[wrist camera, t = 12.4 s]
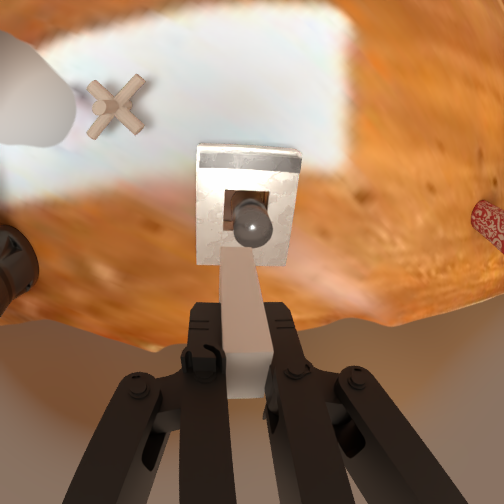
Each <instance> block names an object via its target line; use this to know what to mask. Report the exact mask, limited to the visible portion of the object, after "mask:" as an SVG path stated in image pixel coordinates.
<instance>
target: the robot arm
mask: <svg viewBox="0 0 504 504" xmlns="http://www.w3.org/2000/svg"><path fill="white" fill-rule="evenodd" d="M38 274H39V267H38V262H37V258H36V255H35V253H34V251H33V249H32V247H31V245H30V243H29V242H28V241H27V239H26V238H25V237H24V236H23V235H22V234H21V233H20V232H19V231H18V230H16V229H15V228H13V227H11V226H8V225H1V226H0V317H1V315H2V314H3V312H4V311H5V310H6V308H7V307H8V305H9V304H10V303H11V301H12V300H14V299H15V298H17V297H19V296H21V295H22V294H24V293H26V292H28V291H29V290H30V289H31V288H32V287H33V285H34V284H35V283H36V281H37V279H38ZM181 364H182V368H181V369H180V370H179V371H178V372H176V373H175V374H173V375H169V376H166V377H161V378H156V379H155V378H154V377H153V376H152V375H150V374H148V373H143V372H136V373H131V374H129V375H128V376H125V377H124V378H123V380H122V381H121V382H120V383H119V385H118V387H117V389H116V391H115V393H114V395H113V397H112V398H111V400H110V402H109V404H108V406H107V408H106V410H105V412H104V414H103V416H102V418H101V420H100V422H99V424H98V426H97V428H96V430H95V432H94V434H93V436H92V438H91V440H90V442H89V444H88V447H87V449H86V451H85V453H84V455H83V457H82V459H81V462H80V464H79V466H78V468H77V470H76V472H75V475H74V477H73V479H72V481H71V484H70V486H69V488H68V491H67V493H66V495H65V498H64V500H63V503H62V504H146V503H147V500H148V497H149V494H150V491H151V488H152V485H153V482H154V479H155V476H156V473H157V470H158V467H159V464H160V461H161V458H162V456H163V452H164V450H165V447H166V444H167V441H168V438H169V435H170V432H171V431H174V430H179V429H180V449H179V453H180V454H179V496H180V497H179V498H180V499H179V501H180V504H237V503H236V493H235V483H234V473H233V463H232V451H231V440H230V427H229V414H228V400H227V399H239V398H263V397H264V392H265V395H266V401H267V402H266V405H265V409H264V413H263V420H264V419H266V420H267V426H268V433H269V439H270V445H271V451H272V457H273V464H274V469H275V475H276V481H277V487H278V494H279V499H280V504H355V501H354V497H353V494H352V490H351V487H350V483H349V480H348V476H347V473H346V469H347V471H348V472H349V474H350V475H351V477H352V479H353V480H354V482H355V484H356V485H357V487H358V488H359V490H360V492H361V493H362V495H363V496H364V498H365V500H366V501H367V503H368V504H468V503H467V501H466V500H465V498H464V497H463V496H462V494H461V493H460V491H459V490H458V489H457V487H456V486H455V484H454V483H453V482H452V480H451V479H450V477H449V476H448V475H447V473H446V472H445V471H444V469H443V468H442V466H441V465H440V464H439V462H438V461H437V459H436V458H435V457H434V455H433V454H432V453H431V452H430V450H429V449H428V448H427V446H426V445H425V443H424V442H423V441H422V439H421V438H420V437H419V435H418V434H417V433H416V431H415V430H414V429H413V427H412V426H411V424H410V423H409V422H408V421H407V419H406V418H405V417H404V415H403V414H402V413H401V411H400V410H399V409H398V407H397V406H396V405H395V404H394V402H393V401H392V399H391V398H390V397H389V396H388V394H387V393H386V392H385V390H384V389H383V388H382V386H381V385H380V384H379V383H378V381H377V380H376V379H375V377H374V376H373V375H372V374H371V373H370V372H369V371H368V370H367V369H365V368H363V367H360V366H349V367H347V368H345V369H343V370H342V371H341V373H340V374H339V373H333V372H327V371H322V370H319V369H317V368H315V367H313V365H312V363H310V362H309V361H308V360H307V359H306V358H305V356H304V354H303V350H302V347H301V344H300V341H299V338H298V334H297V331H296V329H295V325H294V322H293V318H292V315H291V312H290V310H289V309H288V308H287V306H286V305H285V304H284V303H283V302H263V299H262V294H261V290H260V285H259V280H258V276H257V271H256V266H255V262H254V257H253V252H252V248H251V247H223V246H221V247H220V277H219V303H203V302H196V304H195V305H194V306H193V308H192V309H191V311H190V322H189V331H188V343H187V347H186V348H185V349H184V350H183V351H182V354H181ZM345 467H346V469H345Z"/></svg>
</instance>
